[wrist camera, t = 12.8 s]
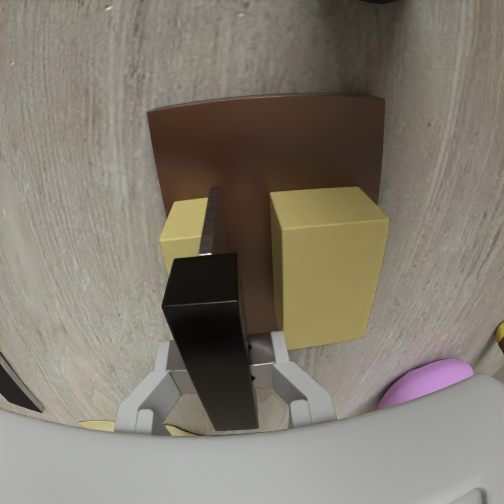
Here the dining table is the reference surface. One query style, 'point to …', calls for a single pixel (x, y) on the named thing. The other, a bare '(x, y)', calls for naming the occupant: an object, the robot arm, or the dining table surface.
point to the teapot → (426, 381)
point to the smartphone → (16, 389)
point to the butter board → (265, 166)
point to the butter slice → (182, 230)
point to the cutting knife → (213, 325)
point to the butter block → (325, 263)
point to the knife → (500, 336)
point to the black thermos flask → (378, 1)
